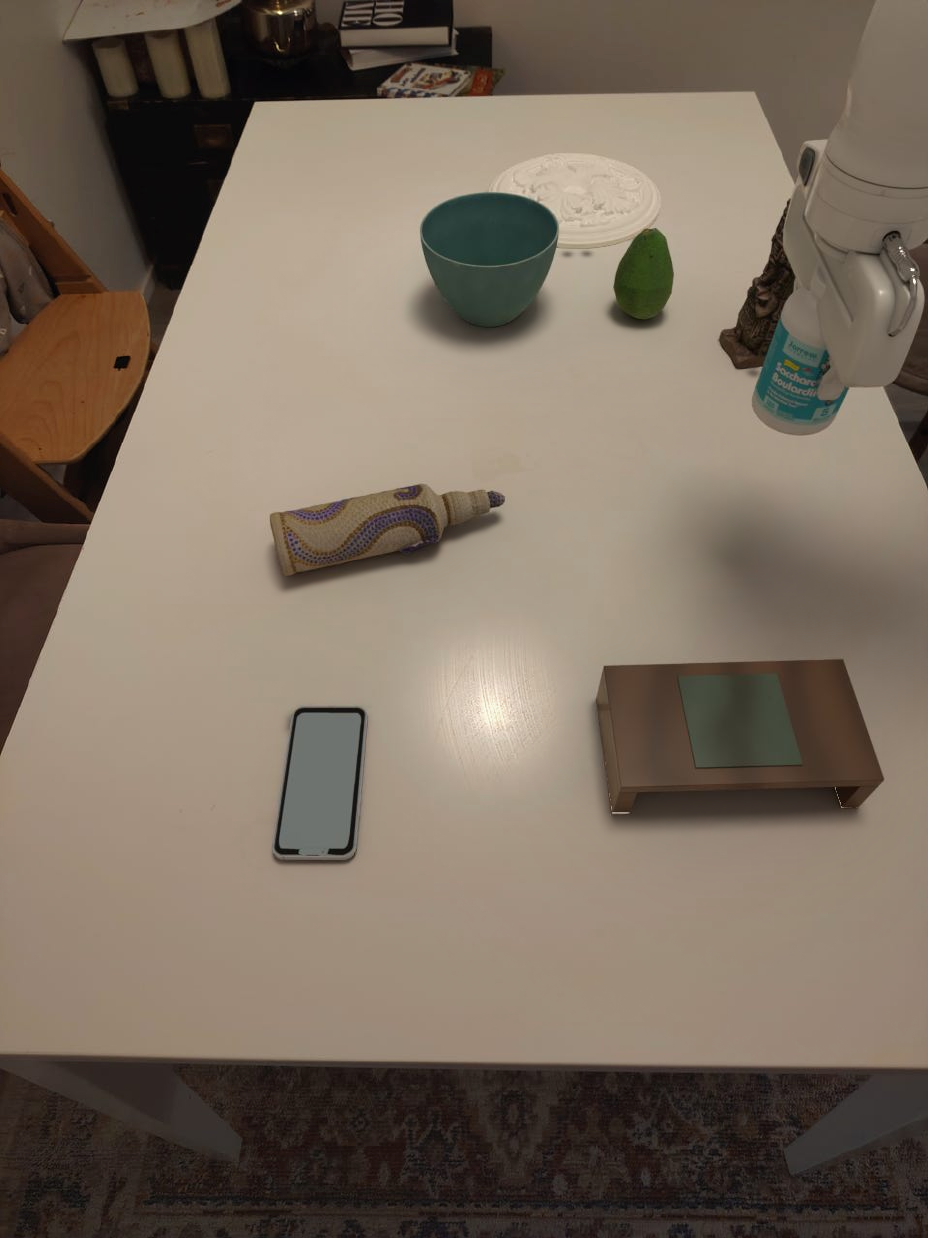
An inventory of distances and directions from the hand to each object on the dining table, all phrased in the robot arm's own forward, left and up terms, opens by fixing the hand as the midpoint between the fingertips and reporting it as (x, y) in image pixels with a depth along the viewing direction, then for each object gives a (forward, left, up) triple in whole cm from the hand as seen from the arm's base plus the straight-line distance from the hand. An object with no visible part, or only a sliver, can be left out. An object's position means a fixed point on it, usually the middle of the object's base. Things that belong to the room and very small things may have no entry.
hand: (811, 360), depth 70 cm
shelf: (+6, +24, -25) cm, 35 cm away
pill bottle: (0, 0, -6) cm, 6 cm away
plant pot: (+25, -46, -26) cm, 59 cm away
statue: (-10, -35, -26) cm, 45 cm away
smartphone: (+43, +26, -25) cm, 57 cm away
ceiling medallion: (+10, -75, -26) cm, 80 cm away
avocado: (+4, -44, -26) cm, 51 cm away
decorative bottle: (+38, -2, -26) cm, 46 cm away
